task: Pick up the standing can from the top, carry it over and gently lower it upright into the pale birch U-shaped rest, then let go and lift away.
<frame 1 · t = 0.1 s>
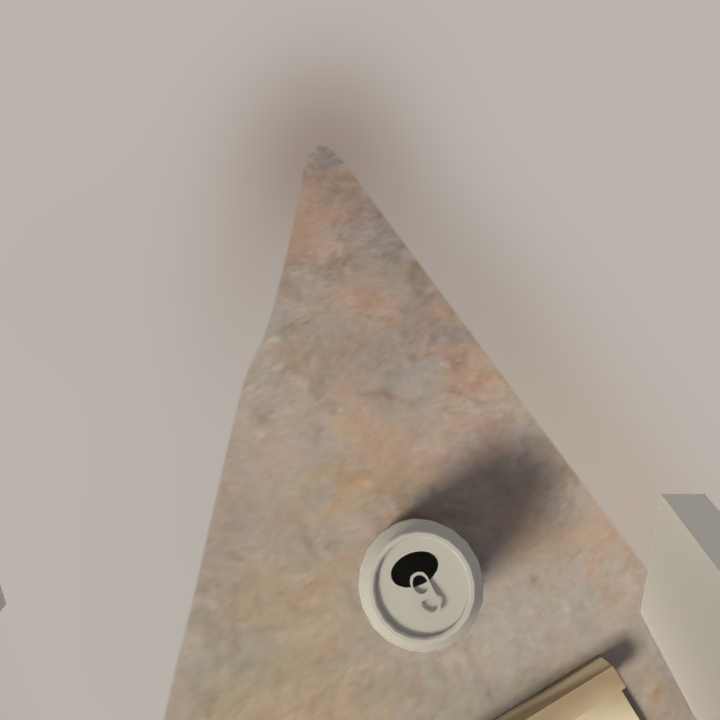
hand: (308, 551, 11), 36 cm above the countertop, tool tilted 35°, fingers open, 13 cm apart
can: (416, 568, 45), on the countertop
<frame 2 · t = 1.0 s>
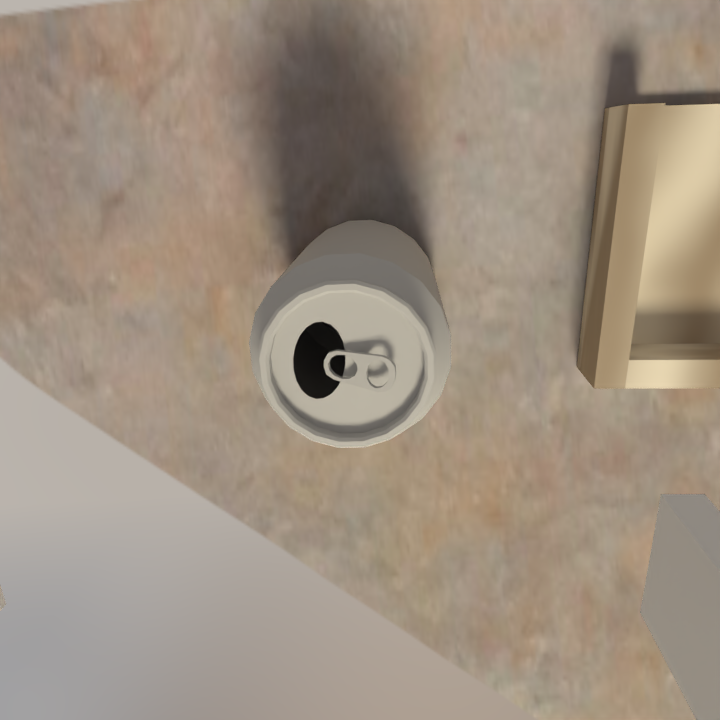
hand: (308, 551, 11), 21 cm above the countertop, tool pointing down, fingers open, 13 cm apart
can: (365, 288, 31), on the countertop
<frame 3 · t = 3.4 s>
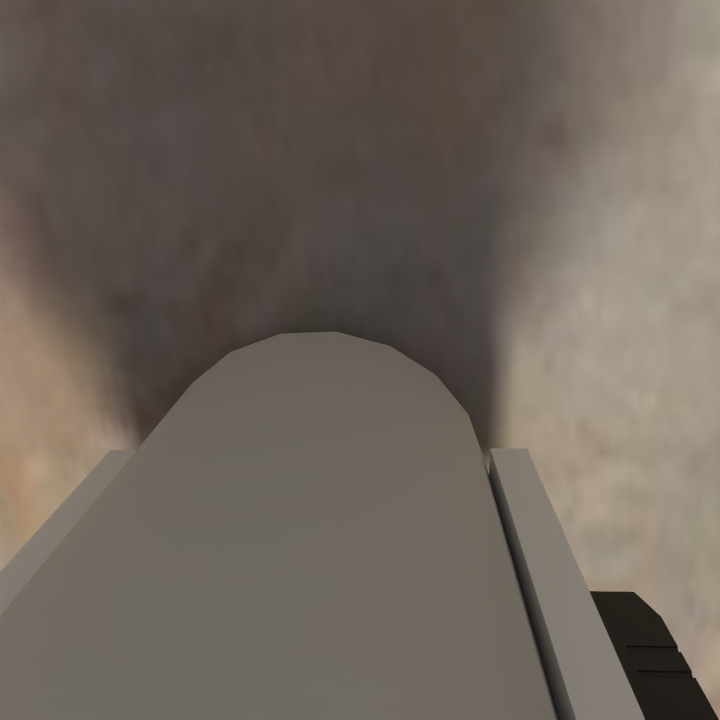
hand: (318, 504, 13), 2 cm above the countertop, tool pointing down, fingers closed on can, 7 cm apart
can: (327, 460, 14), on the countertop, touching gripper
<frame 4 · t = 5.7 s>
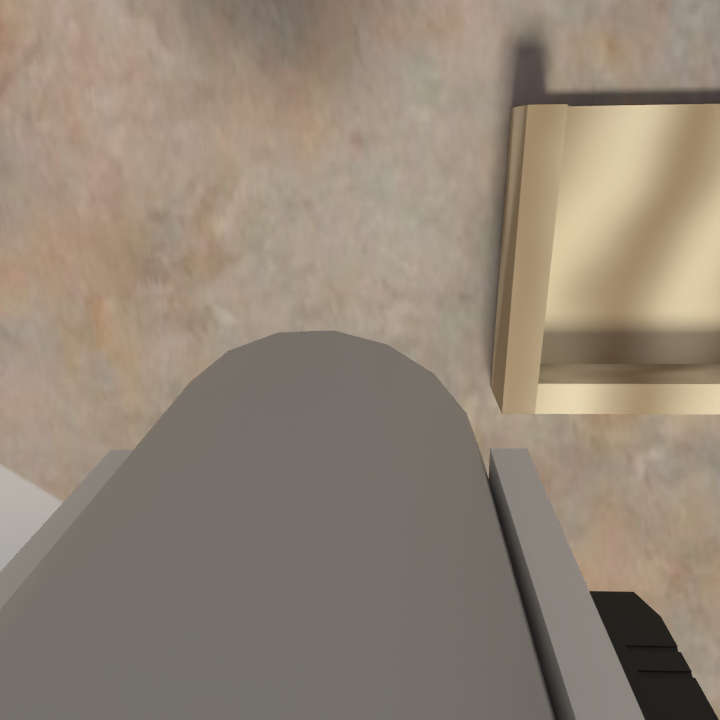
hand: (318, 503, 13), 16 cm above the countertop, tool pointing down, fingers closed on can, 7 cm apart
can rest: (641, 258, 27), on the countertop
can: (325, 459, 14), point 15 cm above the countertop, touching gripper
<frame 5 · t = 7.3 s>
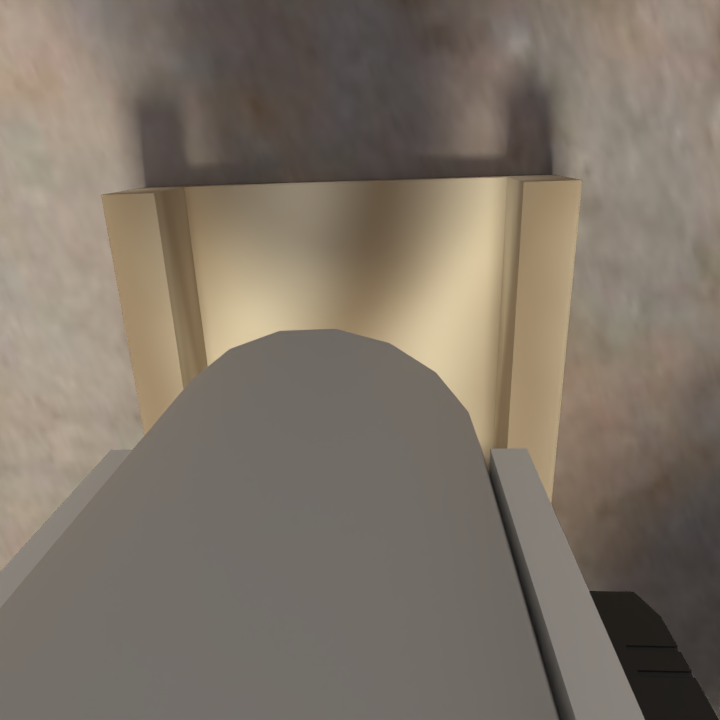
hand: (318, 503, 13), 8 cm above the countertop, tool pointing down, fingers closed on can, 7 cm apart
can rest: (352, 371, 21), on the countertop
can: (326, 458, 14), point 7 cm above the countertop, touching gripper
when the fingers open (5 cm above the countertop, at t = 8.4 s): can drops 2 cm, resting on can rest.
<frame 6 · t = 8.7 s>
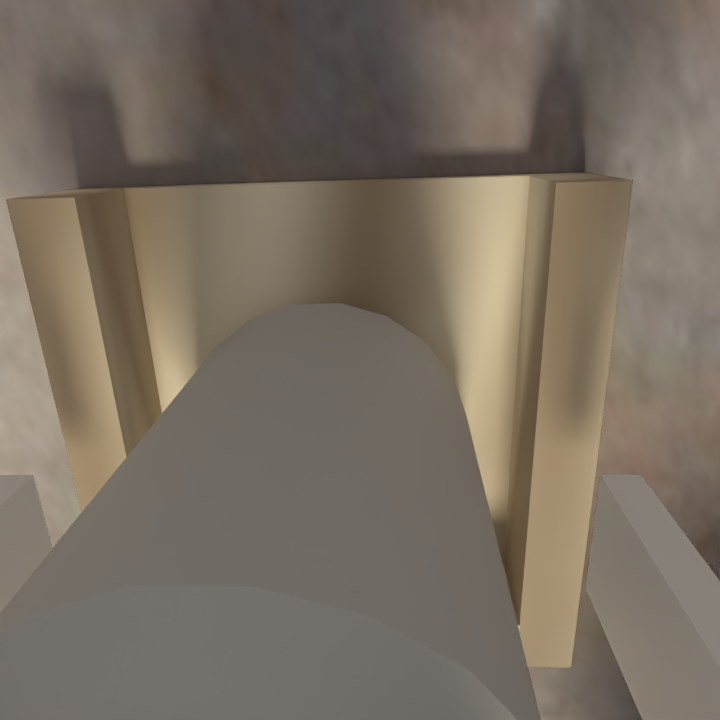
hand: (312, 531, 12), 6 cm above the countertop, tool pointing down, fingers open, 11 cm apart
can rest: (337, 411, 17), on the countertop
can: (330, 417, 17), resting on can rest
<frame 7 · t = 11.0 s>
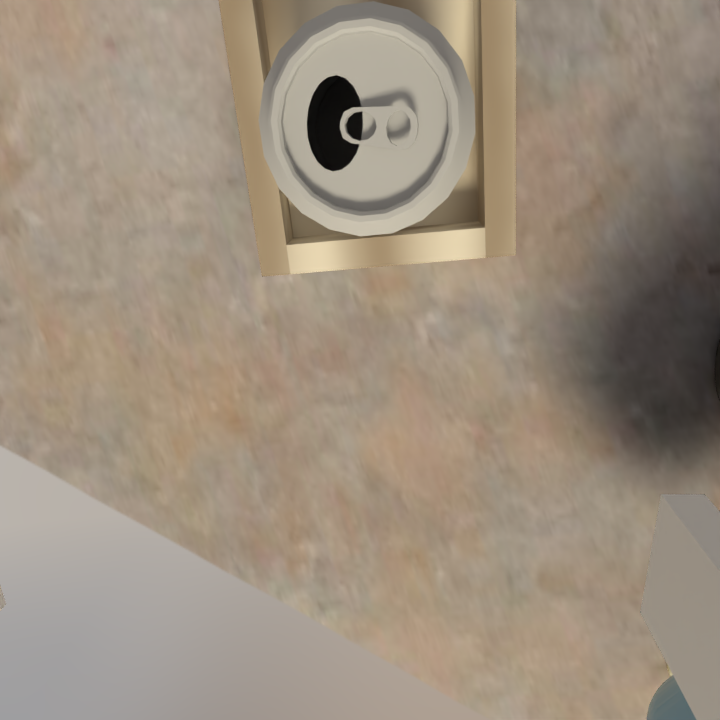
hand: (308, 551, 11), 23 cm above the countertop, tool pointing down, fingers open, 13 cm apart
can rest: (377, 130, 30), on the countertop
can: (374, 129, 30), resting on can rest
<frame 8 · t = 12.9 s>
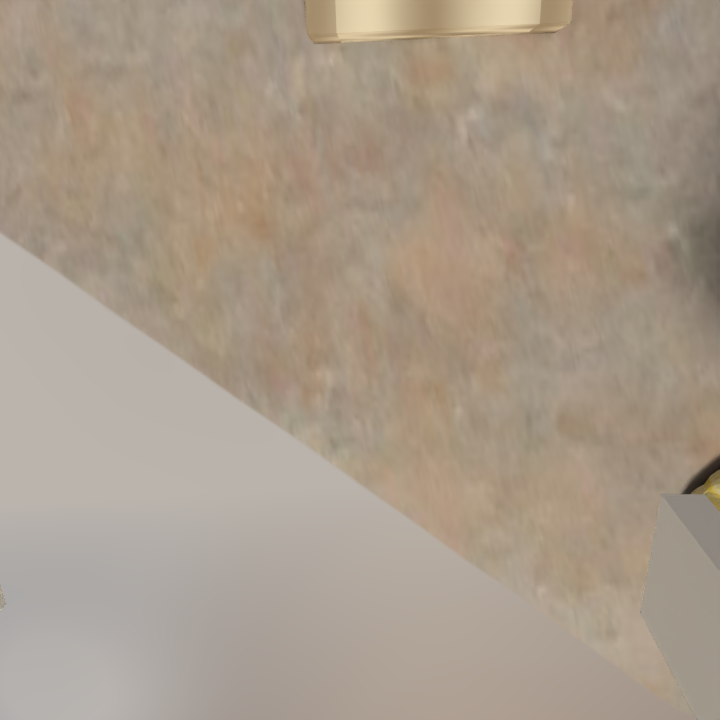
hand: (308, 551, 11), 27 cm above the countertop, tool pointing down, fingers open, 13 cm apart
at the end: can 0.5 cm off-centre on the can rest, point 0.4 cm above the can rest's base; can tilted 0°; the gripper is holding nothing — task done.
